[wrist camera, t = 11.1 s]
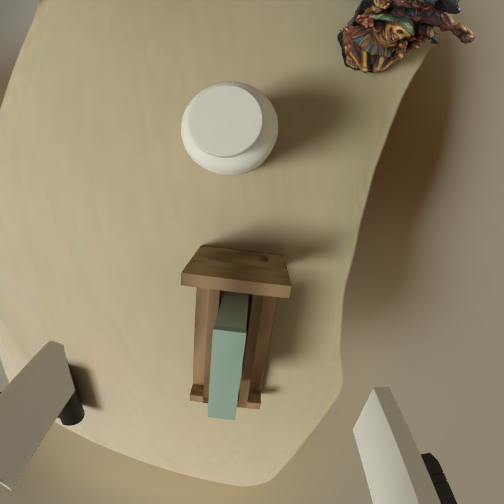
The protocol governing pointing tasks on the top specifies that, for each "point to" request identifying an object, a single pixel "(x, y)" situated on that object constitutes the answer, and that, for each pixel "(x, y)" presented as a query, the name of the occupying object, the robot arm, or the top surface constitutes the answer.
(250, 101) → the pill bottle
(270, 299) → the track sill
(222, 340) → the door panel
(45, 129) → the top surface
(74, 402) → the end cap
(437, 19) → the figurine
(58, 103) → the top surface
